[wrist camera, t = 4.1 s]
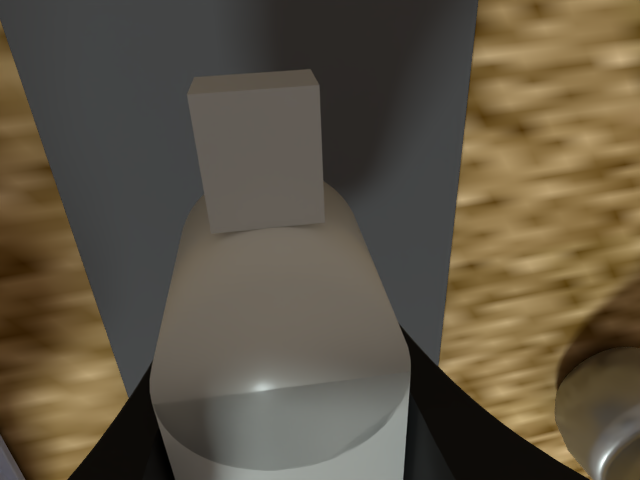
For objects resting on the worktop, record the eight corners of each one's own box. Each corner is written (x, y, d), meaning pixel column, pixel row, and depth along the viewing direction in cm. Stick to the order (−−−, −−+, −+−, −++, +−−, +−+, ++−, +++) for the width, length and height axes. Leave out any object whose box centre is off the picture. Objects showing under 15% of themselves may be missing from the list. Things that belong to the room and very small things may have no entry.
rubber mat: (433, 371, 24) (436, 379, 24) (137, 408, 23) (135, 417, 22) (478, -65, 15) (485, -65, 14) (-13, -42, 14) (-21, -41, 13)
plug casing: (359, 432, 16) (395, 583, 12) (223, 450, 16) (215, 612, 12) (359, 48, 10) (429, 107, 6) (140, 63, 10) (70, 135, 6)
